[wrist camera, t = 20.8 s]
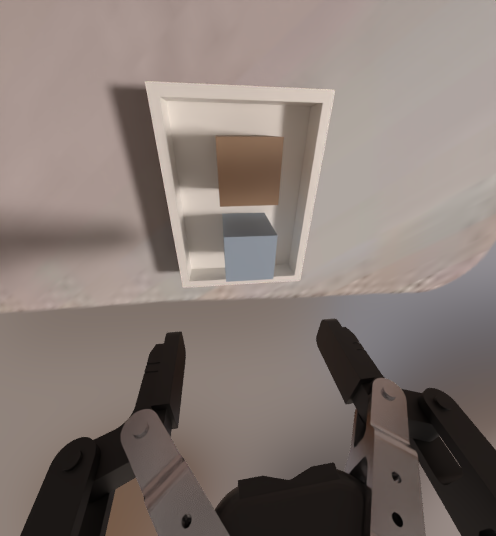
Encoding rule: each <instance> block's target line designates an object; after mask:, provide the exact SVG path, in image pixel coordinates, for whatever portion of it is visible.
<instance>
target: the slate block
mask: <svg viewBox="0 0 496 536" xmlns="http://www.w3.org/2000/svg"><path fill="white" fill-rule="evenodd" d="M222 218H223V239H224V258H225V273H226V282H231V281H248V280H265V279H273V277H274V267H275V257H276V247H277V237H278V235H277V234H276V232H275V230H274V228H273V227H272V225H271V223H270V222H269V220H268V218H267V216H266V215H265V213H228V214H222Z"/></svg>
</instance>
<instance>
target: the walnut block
mask: <svg viewBox="0 0 496 536" xmlns="http://www.w3.org/2000/svg"><path fill="white" fill-rule="evenodd" d="M215 139H216V154H217V170H218V185H219V200H220V207H230V206H263V205H278V202H279V190H280V178H281V166H282V154H283V142H284V137H278V136H268V135H216V136H215Z"/></svg>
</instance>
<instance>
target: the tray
mask: <svg viewBox="0 0 496 536" xmlns="http://www.w3.org/2000/svg"><path fill="white" fill-rule="evenodd" d="M145 85H146V90H147V96H148V101H149V107H150V112H151V118H152V123H153V128H154V134H155V139H156V145H157V150H158V155H159V161H160V166H161V172H162V177H163V182H164V188H165V193H166V199H167V204H168V210H169V215H170V220H171V226H172V231H173V237H174V242H175V247H176V253H177V258H178V264H179V269H180V274H181V280H182V285H183V288H186V287H203V286H219V285H236V284H253V283H269V282H286V281H300V279H301V273H302V268H303V262H304V257H305V251H306V246H307V241H308V235H309V230H310V224H311V219H312V213H313V208H314V203H315V197H316V192H317V186H318V181H319V175H320V170H321V165H322V159H323V154H324V148H325V143H326V138H327V132H328V127H329V121H330V116H331V110H332V105H333V100H334V94H335V90H329V89H307V88H285V87H263V86H241V85H219V84H196V83H174V82H152V81H145ZM216 135H268V136H278V137H284V142H283V154H282V166H281V178H280V190H279V202H278V205H263V206H230V207H220V200H219V185H218V170H217V154H216V139H215V136H216ZM228 213H265V215H266V216H267V218H268V220H269V222H270V223H271V225H272V227H273V228H274V230H275V232H276V234H277V235H278V237H277V247H276V257H275V267H274V277H273V279H265V280H248V281H231V282H226V273H225V258H224V239H223V218H222V214H228Z"/></svg>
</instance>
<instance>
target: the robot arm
mask: <svg viewBox="0 0 496 536" xmlns="http://www.w3.org/2000/svg"><path fill="white" fill-rule="evenodd" d="M316 341H317V345H318V348H319V350H320V352H321V354H322V356H323V358H324V360H325V363H326V364H327V367H328V369H329V371H330V373H331V375H332V377H333V379H334V381H335V383H336V385H337V387H338V389H339V391H340V393H341V395H342V398H343V400H344V402H345V404H351V403H354V405H355V407H356V410H355V415H354V423H353V432H352V440H351V448H350V453H349V455H348V458H347V461H346V466H345V472H343V471H341V470H338V469H336V467H335V464H334V463H328V464H323V465H318V466H313V467H310V468H309V469H307V470H305V471H304V472H302V473H301V474H299V475H298V476H296V477H294V478H293V479H291V480H284V479H278V478H272V477H267V476H260V477H254V478H249V479H243V480H238V487H236V488H235V489H233V490H232V491H231V492H229V493H228V494H227V495H226V496H225V497H224V498H223V499H222V500H221V502H220V503H219V504H218V506H217V507H216V509H215V510H214V508H213V507H212V505H211V503H210V501H209V500H208V498H207V496H206V495H205V493H204V491H203V489H202V488H201V486H200V484H199V483H198V481H197V479H196V478H195V476H194V474H193V473H192V471H191V469H190V468H189V466H188V464H187V463H186V461H185V460H184V458H183V457H182V456H181V454H180V453H179V451H178V449H177V448H176V446H175V444H174V442H173V441H172V439H171V430H172V429H176V428H178V423H179V414H180V405H181V395H182V386H183V378H184V369H185V358H186V357H185V356H186V352H185V345H184V340H183V336H182V332H170V333H167V334H166V337H165V342H164V344H156V345H155V347H154V348H153V350H152V351H151V352H150V354H149V358H148V362H147V366H146V369H145V374H144V376H143V380H142V384H141V388H140V391H139V395H138V398H137V402H136V406H135V409H134V411H133V413H132V414H131V416H130V417H129V419H128V420H127V421H126V422H125V423H124V424H123V425H121V426H120V427H119V428H117V429H115V430H113V431H111V432H109V433H107V434H105V435H103V436H101V437H99V438H97V439H94V440H92V439H91V438H88V437H81V438H78V439H76V440H73V441H72V442H70V443H69V444H67V445H66V446H65V447H64V448H62V449H61V450H60V452H59V453H58V454H57V455H56V457H55V458H54V460H53V461H52V463H51V465H50V467H49V470H48V472H47V474H46V477H45V479H44V481H43V484H42V486H41V488H40V491H39V493H38V496H37V498H36V500H35V503H34V505H33V507H32V509H31V512H30V514H29V516H28V519H27V521H26V524H25V526H24V528H23V531H22V533H21V535H20V536H105V534H106V530H107V524H108V520H109V516H110V511H111V506H112V502H113V498H114V493H115V489H117V488H118V487H120V486H122V485H123V484H125V483H127V482H129V481H130V480H132V479H134V478H135V477H136V479H137V481H138V483H139V486H140V488H141V490H142V493H143V496H144V501H145V505H146V508H147V510H148V513H149V515H150V517H151V520H152V522H153V524H154V527H155V529H156V532H157V534H158V536H426V535H425V526H424V525H425V524H424V515H423V503H422V493H421V482H420V472H419V463H420V464H421V466H422V468H423V470H424V471H425V473H426V475H427V477H428V478H429V480H430V482H431V484H432V485H433V487H434V489H435V491H436V492H437V494H438V496H439V497H440V499H441V501H442V503H443V504H444V506H445V508H446V510H447V511H448V513H449V515H450V516H451V518H452V520H453V522H454V524H455V525H456V527H457V529H458V531H459V532H460V534H461V536H496V450H495V449H494V448H493V446H492V445H491V444H490V443H489V442H488V440H487V439H486V438H485V437H484V436H483V434H482V433H481V432H480V431H479V430H478V428H477V427H476V426H475V425H474V424H473V422H472V421H471V420H470V419H469V418H468V416H467V415H466V414H465V413H464V412H463V410H462V409H461V408H460V407H459V406H458V405H457V403H456V402H455V401H454V400H453V399H452V398H451V397H450V396H448V395H447V394H446V393H444V392H442V391H440V390H438V389H435V388H427V389H426V390H425V391H424V392H423V393H418V392H413V391H408V390H403V389H401V388H400V387H399V386H398V385H397V384H395V383H394V382H392V381H390V380H388V379H385V378H384V377H383V375H382V374H381V373H380V371H379V370H378V368H377V367H376V365H375V364H374V362H373V361H372V360H371V358H370V357H369V355H368V354H367V352H366V351H365V350H364V348H363V347H362V345H361V344H360V343H359V341H358V339H357V338H356V336H355V335H354V334H353V333H352V332H351V331H350V330H349V329H347V328H346V327H342V326H341V325H340V323H339V322H338V320H337V319H324V320H322V321H321V324H320V327H319V330H318V333H317V337H316ZM439 436H440V437H441V438H442V440H443V441H444V443H445V444H446V446H447V447H448V448H449V450H450V451H451V453H452V454H453V456H454V457H455V459H456V460H457V462H458V463H459V464H458V463H457V462H456V460H455V459H454V457H453V456H452V454H451V453H450V451H449V450H448V448H447V447H446V446H445V444H444V443H443V441H442V440H441V438H440V437H439ZM459 465H460V466H459Z"/></svg>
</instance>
